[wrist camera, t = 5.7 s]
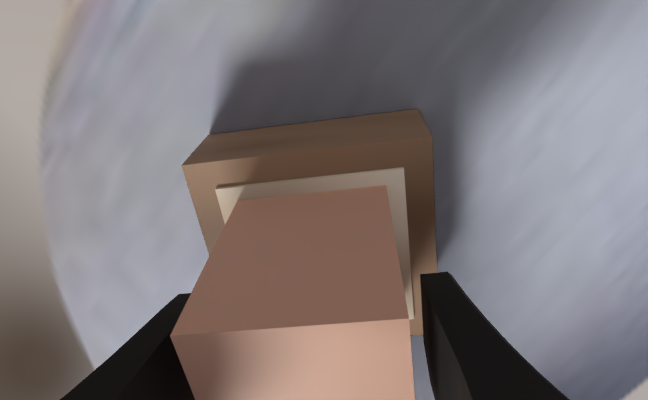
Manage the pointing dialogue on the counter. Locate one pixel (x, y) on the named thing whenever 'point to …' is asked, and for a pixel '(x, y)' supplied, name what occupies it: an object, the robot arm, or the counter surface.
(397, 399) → the terracotta block
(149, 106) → the counter surface
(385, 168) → the walnut foundation
